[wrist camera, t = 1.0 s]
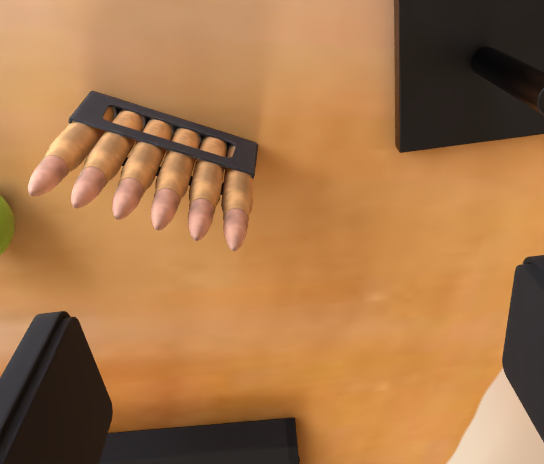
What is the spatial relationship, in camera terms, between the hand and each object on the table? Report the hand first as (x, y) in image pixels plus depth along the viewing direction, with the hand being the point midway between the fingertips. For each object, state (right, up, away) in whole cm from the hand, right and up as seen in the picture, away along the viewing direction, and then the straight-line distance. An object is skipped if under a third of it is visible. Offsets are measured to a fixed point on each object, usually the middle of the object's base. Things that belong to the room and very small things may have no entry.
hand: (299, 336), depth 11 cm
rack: (+12, +13, +20) cm, 26 cm away
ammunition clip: (-7, +9, +22) cm, 24 cm away
